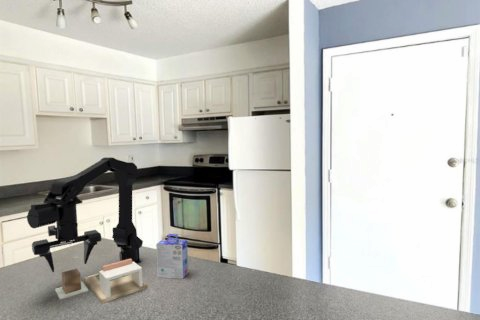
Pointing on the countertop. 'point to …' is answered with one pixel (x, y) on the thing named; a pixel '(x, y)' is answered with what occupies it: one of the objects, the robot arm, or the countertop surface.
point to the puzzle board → (113, 287)
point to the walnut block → (71, 281)
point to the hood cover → (119, 274)
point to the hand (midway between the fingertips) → (69, 267)
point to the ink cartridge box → (172, 258)
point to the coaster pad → (62, 294)
